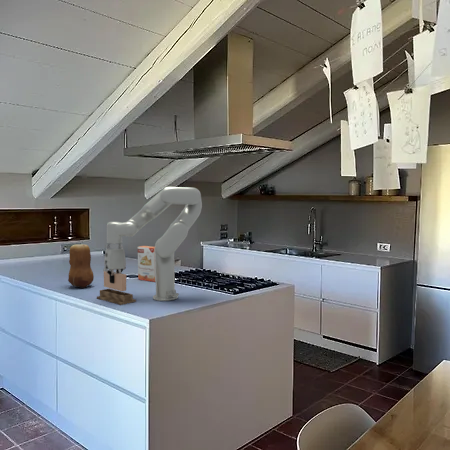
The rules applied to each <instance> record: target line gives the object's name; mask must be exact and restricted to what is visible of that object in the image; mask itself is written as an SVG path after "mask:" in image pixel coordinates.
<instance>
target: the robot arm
mask: <svg viewBox="0 0 450 450" xmlns="http://www.w3.org/2000/svg"><path fill="white" fill-rule="evenodd" d="M202 200H203V199H202V194H201V191H200V190H199V189H198V188H196V187H189V186H188V187H187V186H185V187H184V186H183V187H182V186H179V187H178V186H166V187H163V188H162V189H161V190H160V191H159V192H158V193H157V194H155V195H154V196H153V197H152V198H151V199H150V200H148V201H147V203H145V204H144V205H143V206H142V208H141V209H140V210H139V211H137V212H136V213H135V214H134V215H133V216H132V217H131V218H130V219H128V220H127V221H125V222H120V221H108V222H107V224H106V244H104V248H106V249H105V252H104V253H105V254H104V261H103V262H104V267H103V272H104V271H105V272H107V273H108V274H109V275H110V283H114V275H113V274H114V272H117V273H123V271H124V270H126V269H127V268H126V266H127V265H126V264H127V263H126V252H125V249H124V248H123V237H127V238H128V237H130V238H131V237H134V236H135V235H136V234H137V233H138V232H139V231H140V230H142V229H143V228H144V226H146V225H147V224H148V223H150V222H151V221H153V220H154V219H156V218H158V216H160V215H161V214H162V213H163V212H164V211H166V209H168V208H169V207H170V206H171V205H184V208H183V209H182V210H181V212H180V214H179V215H178V216H177V217H176V218H175V219H174V220H173V221H172V222H171V223H170V225H169V226H168V228H167V230H166V231H165V232H164V233H163V235H162V236H161V237H159V238H158V239H157V240H156V241H155V244H154V247H155V255H156V282H155V295H153V296H152V299H153V300H154V301H160V302H166V301H168V302H169V301H174V300H177V299H178V297H179V293H177V290H176V288H175V285H176V284H175V276H176V275H175V252H176V251H177V250H178V248H179V247H180V245H181V244H182V243H183V242H184V241H185V239H186V238H187V236H188V234H189V230H190V229H191V228H192V226H193V225H194V224H195V222H196V221H197V219H198V218H199V217H200V215H201V212H202V208H203V203H202V202H203V201H202ZM114 270H115V271H114Z"/></svg>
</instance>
